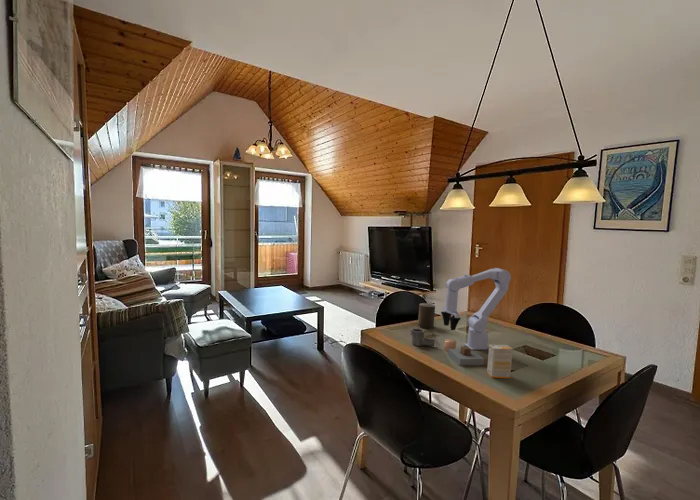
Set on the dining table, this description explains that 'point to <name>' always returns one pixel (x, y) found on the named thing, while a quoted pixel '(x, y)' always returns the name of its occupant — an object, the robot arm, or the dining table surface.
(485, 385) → the dining table surface
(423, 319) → the pillar candle
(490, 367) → the supplement box
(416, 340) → the pipe
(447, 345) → the peach egg-shaped blob
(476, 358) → the block
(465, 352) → the square peg
